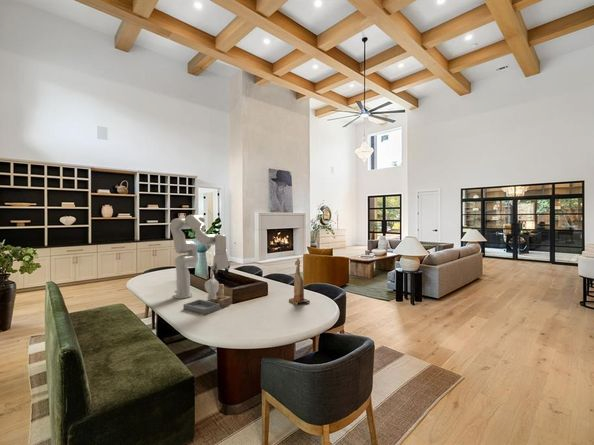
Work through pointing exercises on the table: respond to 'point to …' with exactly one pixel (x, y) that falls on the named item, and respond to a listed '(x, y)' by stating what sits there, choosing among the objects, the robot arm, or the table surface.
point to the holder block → (222, 301)
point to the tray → (201, 307)
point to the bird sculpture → (298, 286)
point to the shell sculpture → (211, 287)
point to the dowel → (221, 291)
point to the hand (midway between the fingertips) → (221, 277)
